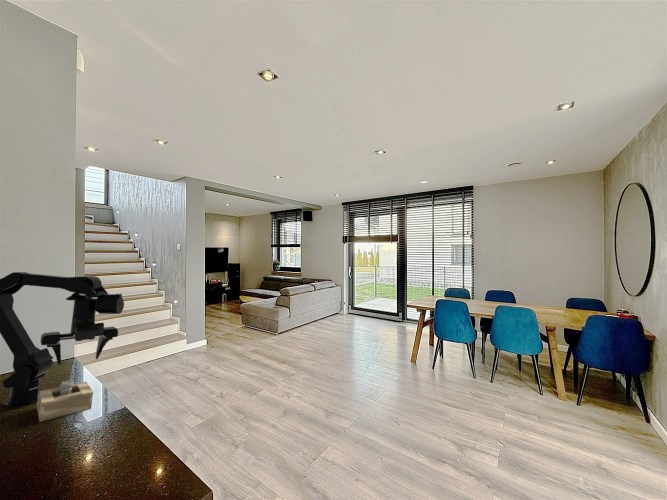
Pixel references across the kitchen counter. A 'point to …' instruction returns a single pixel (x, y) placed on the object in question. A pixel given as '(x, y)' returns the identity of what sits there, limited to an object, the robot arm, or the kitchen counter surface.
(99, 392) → the kitchen counter surface
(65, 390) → the rook chess piece
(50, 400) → the box
